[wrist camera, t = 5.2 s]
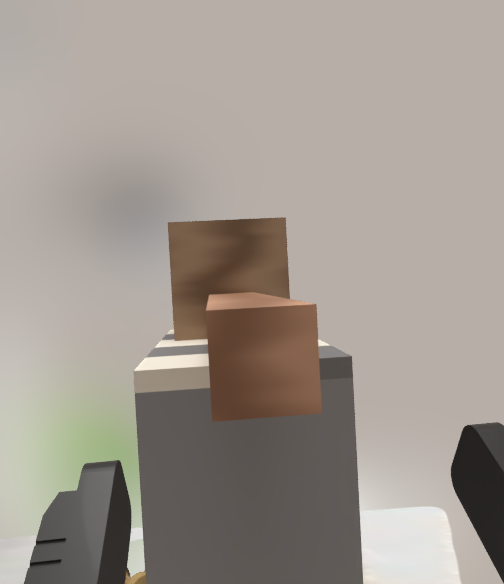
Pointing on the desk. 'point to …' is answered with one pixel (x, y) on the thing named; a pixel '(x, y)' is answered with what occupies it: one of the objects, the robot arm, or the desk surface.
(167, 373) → the grey upright pillar
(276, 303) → the brown angular block
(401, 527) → the desk surface
